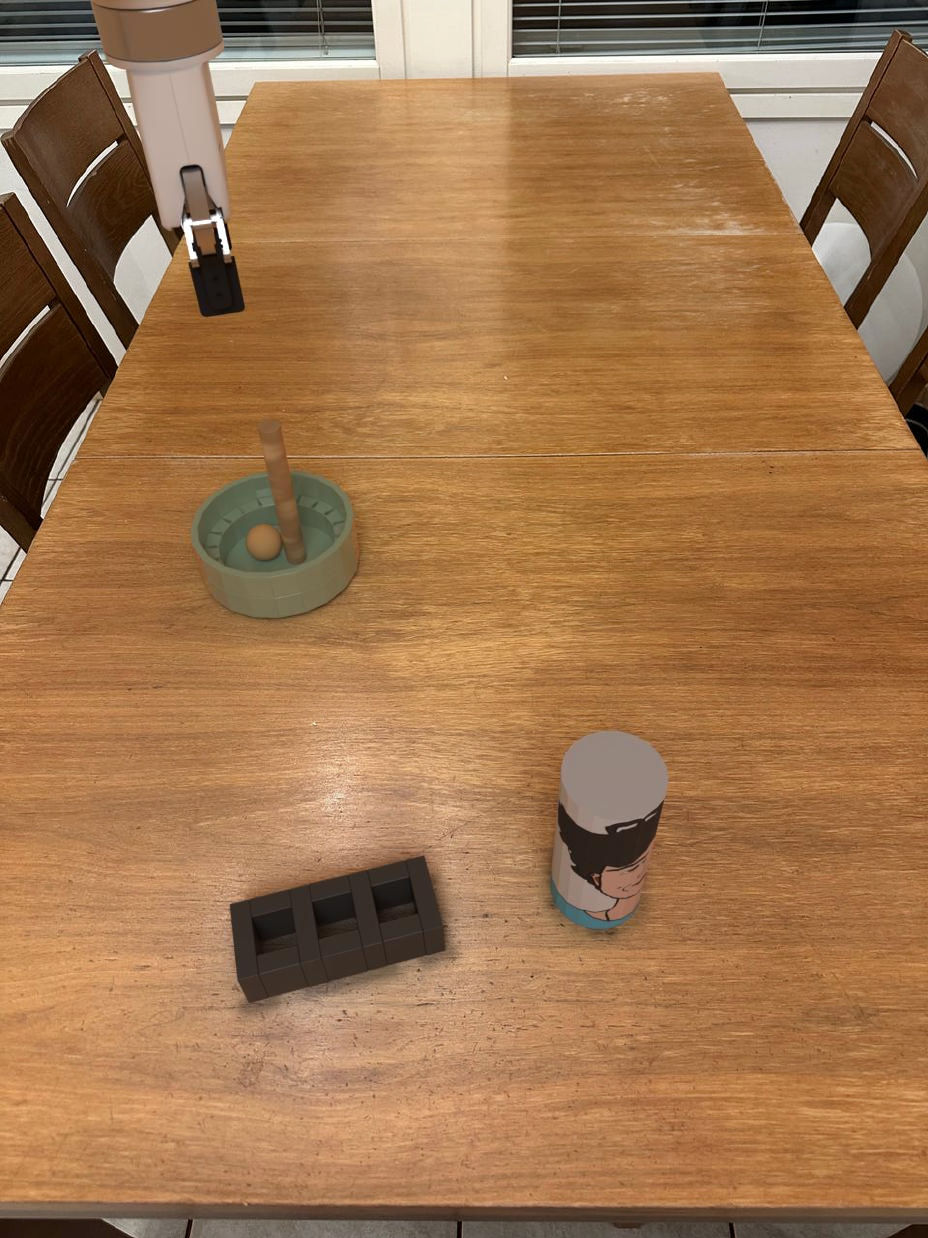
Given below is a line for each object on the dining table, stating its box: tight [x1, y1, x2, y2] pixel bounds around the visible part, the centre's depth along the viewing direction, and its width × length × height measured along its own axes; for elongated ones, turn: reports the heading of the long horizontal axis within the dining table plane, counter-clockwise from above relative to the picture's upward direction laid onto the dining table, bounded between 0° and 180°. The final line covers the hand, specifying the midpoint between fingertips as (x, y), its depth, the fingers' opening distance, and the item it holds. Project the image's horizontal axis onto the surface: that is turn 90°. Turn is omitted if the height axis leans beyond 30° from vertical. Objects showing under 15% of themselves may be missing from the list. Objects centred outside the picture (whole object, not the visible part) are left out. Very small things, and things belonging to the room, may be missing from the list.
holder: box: [229, 854, 446, 1004], centre depth 67 cm, size 14×6×4 cm, turn 105°
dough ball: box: [246, 524, 283, 560], centre depth 93 cm, size 4×4×4 cm
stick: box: [257, 418, 307, 565], centre depth 89 cm, size 2×2×16 cm
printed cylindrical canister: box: [549, 730, 670, 930], centre depth 65 cm, size 7×7×15 cm
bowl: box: [189, 469, 361, 619], centre depth 92 cm, size 15×15×6 cm
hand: (217, 280), depth 72 cm, fingers open, 9 cm apart
